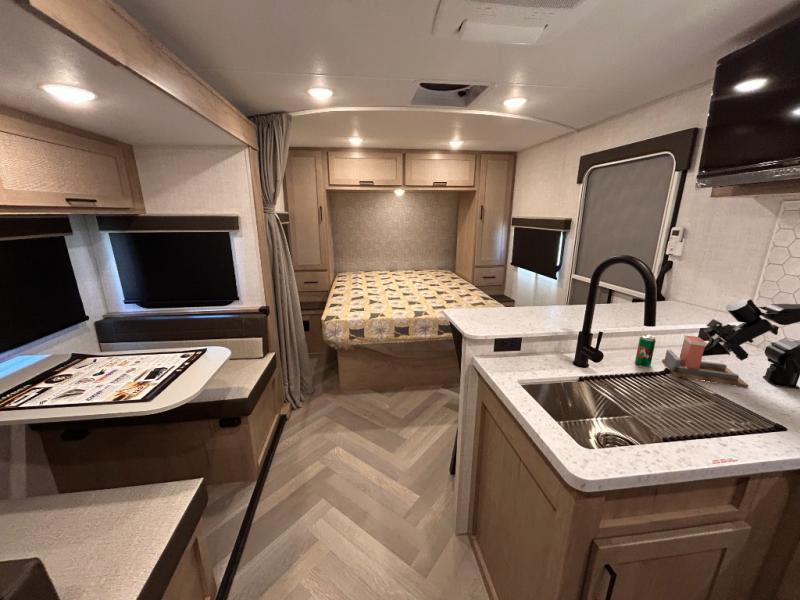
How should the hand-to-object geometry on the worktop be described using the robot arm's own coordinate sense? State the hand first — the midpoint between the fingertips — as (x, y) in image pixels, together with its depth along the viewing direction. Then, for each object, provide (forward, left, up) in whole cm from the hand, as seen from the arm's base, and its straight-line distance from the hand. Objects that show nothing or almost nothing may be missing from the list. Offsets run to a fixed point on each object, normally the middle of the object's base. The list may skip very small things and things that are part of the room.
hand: (699, 354), depth 117 cm
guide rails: (-1, 0, -6) cm, 6 cm away
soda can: (+16, -1, -7) cm, 18 cm away
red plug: (+2, 0, -6) cm, 6 cm away
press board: (-2, 0, -7) cm, 7 cm away
